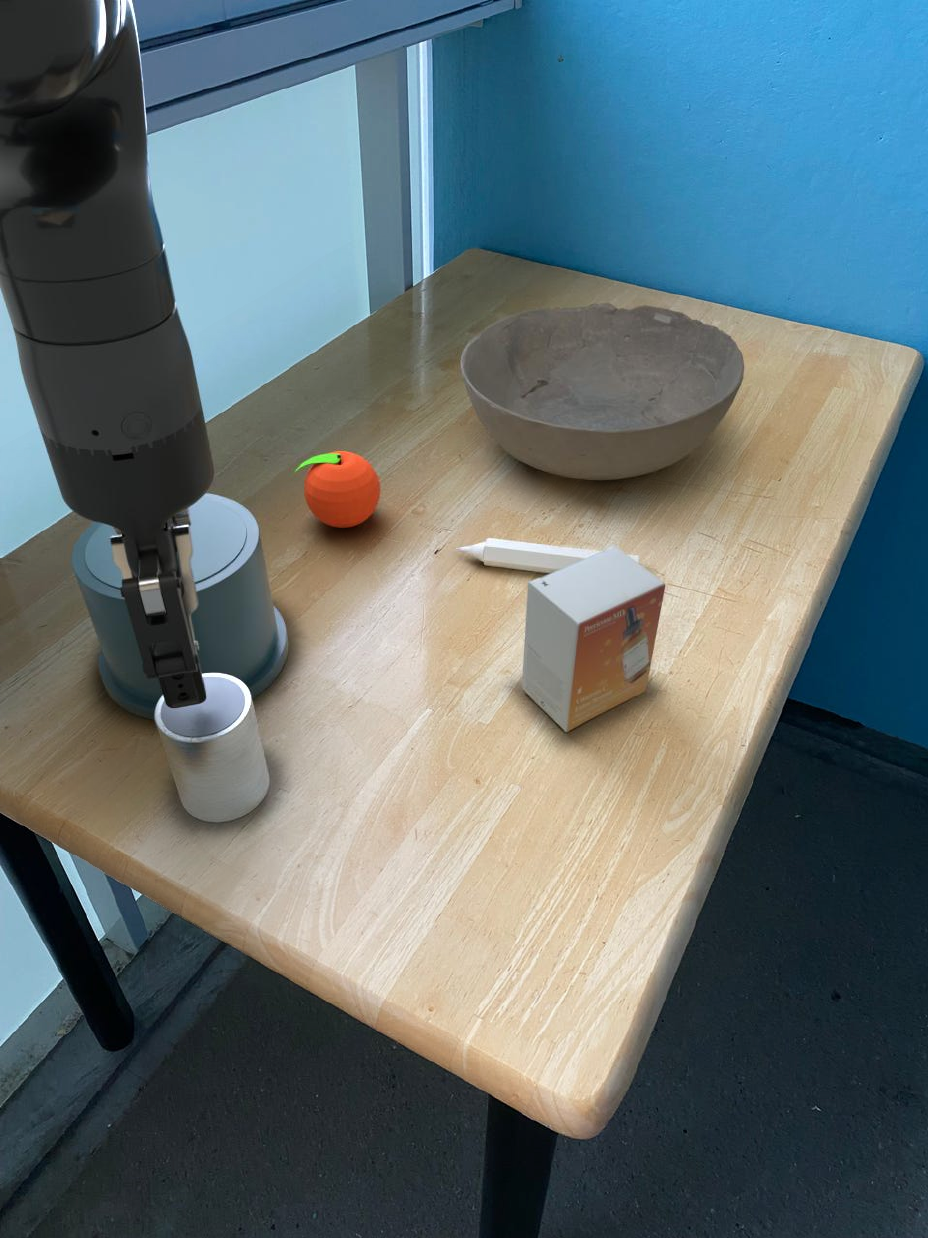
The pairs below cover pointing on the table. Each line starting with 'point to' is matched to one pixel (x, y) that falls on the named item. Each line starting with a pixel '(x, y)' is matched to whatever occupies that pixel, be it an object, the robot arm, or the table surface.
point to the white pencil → (527, 555)
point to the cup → (215, 751)
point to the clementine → (341, 488)
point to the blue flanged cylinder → (223, 622)
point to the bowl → (601, 387)
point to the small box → (590, 636)
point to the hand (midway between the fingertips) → (183, 651)
